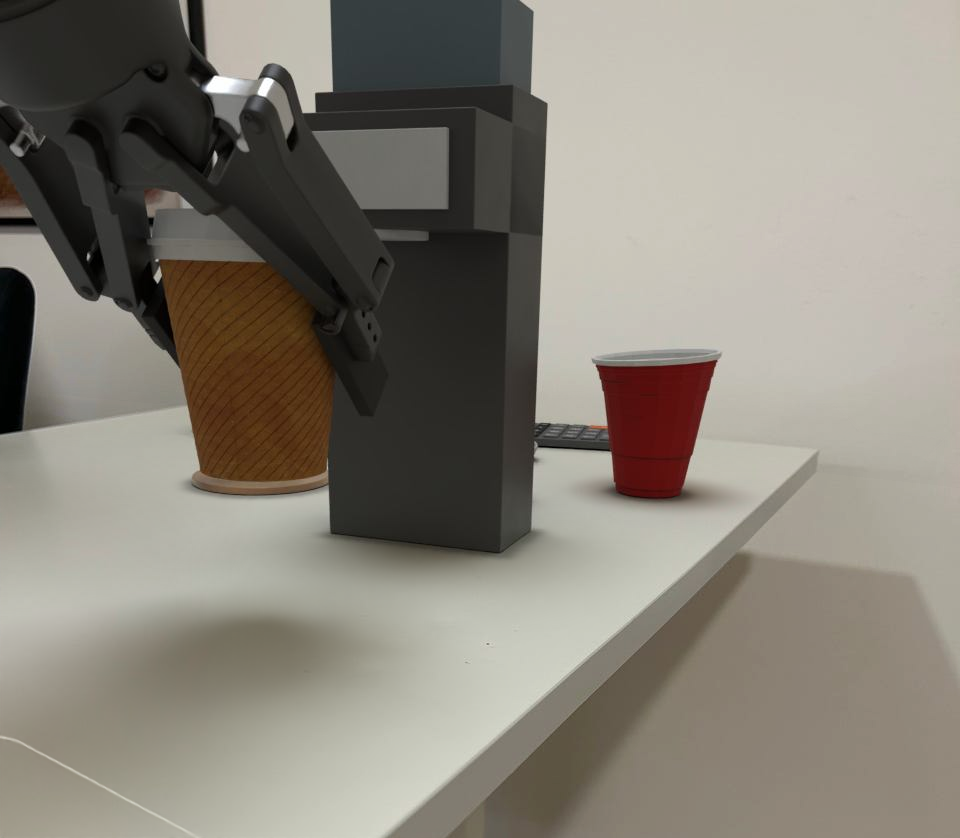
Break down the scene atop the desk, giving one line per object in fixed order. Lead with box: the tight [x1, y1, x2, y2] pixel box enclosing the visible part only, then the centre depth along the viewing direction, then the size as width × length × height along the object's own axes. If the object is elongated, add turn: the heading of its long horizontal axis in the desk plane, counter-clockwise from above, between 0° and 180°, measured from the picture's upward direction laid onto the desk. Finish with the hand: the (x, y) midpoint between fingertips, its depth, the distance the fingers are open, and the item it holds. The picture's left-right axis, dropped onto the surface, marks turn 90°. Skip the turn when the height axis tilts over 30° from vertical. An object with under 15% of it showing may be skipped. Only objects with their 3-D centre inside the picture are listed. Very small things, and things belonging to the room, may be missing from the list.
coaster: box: [191, 469, 329, 496], centre depth 87 cm, size 12×12×1 cm
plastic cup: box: [590, 348, 723, 499], centre depth 84 cm, size 11×11×12 cm
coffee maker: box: [303, 0, 549, 553], centre depth 63 cm, size 13×13×33 cm
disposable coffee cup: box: [147, 207, 336, 483], centre depth 48 cm, size 10×10×12 cm
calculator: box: [535, 422, 610, 450], centre depth 112 cm, size 12×1×15 cm
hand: (295, 389), depth 51 cm, fingers closed on disposable coffee cup, 8 cm apart
